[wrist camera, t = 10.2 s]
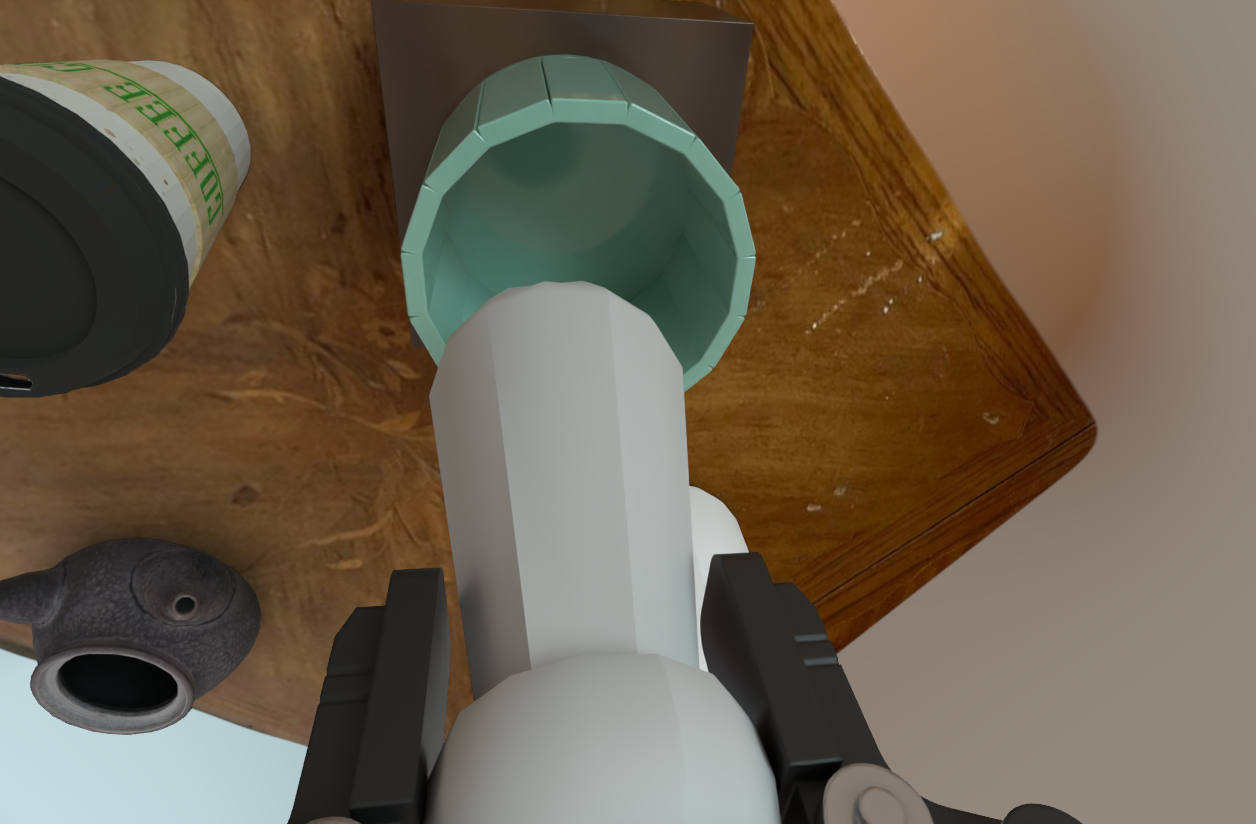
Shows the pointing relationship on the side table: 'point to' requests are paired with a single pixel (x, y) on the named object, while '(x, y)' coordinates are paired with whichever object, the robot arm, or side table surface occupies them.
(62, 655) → the teapot
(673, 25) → the block
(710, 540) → the can
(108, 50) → the side table surface
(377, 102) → the side table surface
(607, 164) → the green cup
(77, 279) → the coffee cup
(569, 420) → the salt shaker
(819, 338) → the side table surface
